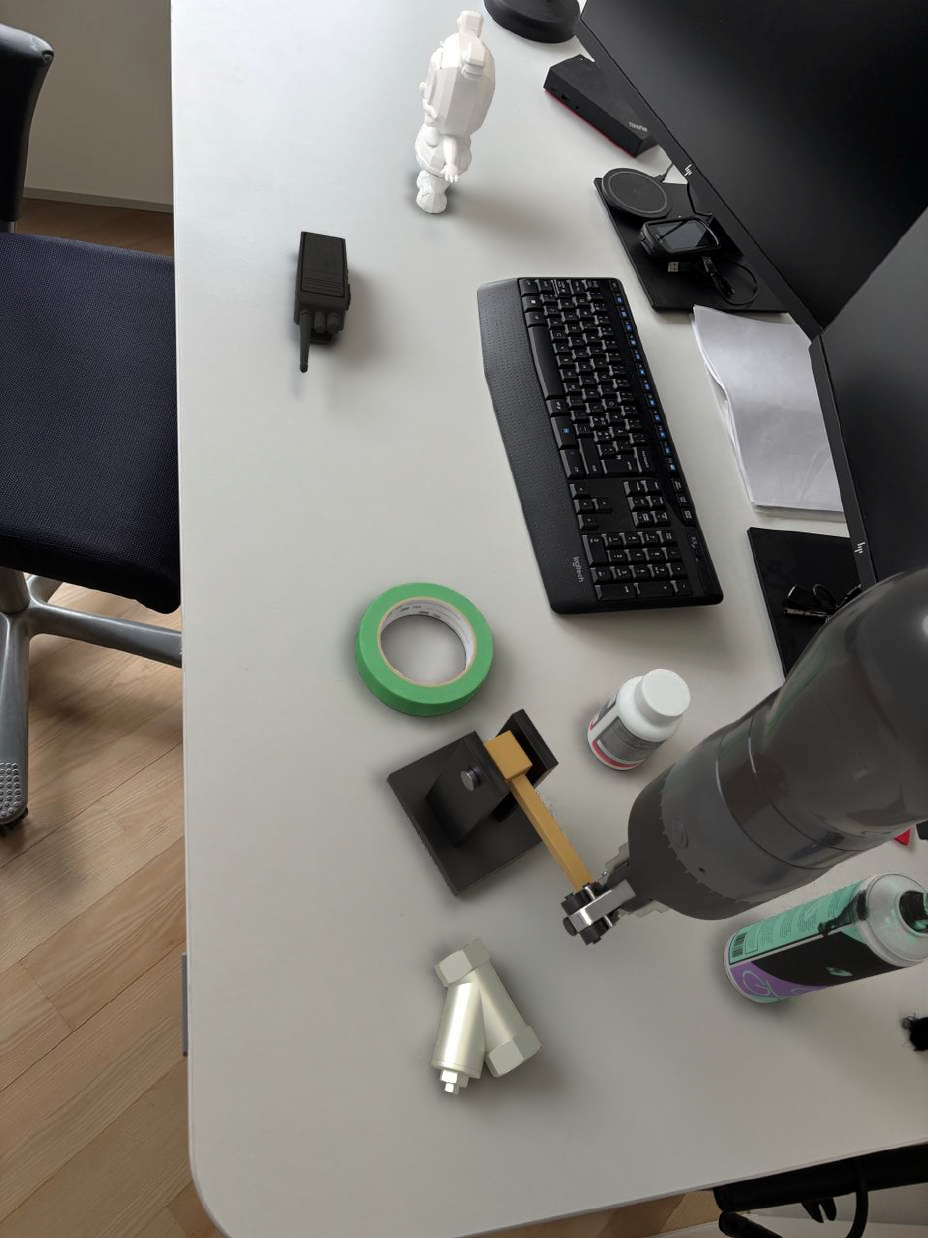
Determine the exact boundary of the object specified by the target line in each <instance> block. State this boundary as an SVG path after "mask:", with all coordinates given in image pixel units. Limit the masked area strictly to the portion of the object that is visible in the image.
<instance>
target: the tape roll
mask: <svg viewBox="0 0 928 1238" xmlns="http://www.w3.org/2000/svg"><path fill="white" fill-rule="evenodd" d="M410 615H422V616H423V615H424V616H430V617H433V618H435V619H438V620H439V621H442V622H443V623H445V624H446V625H448V626H449V627H450V628H451V629H452V630H453V631H454V632H455V633H456V634H457V635H458V637H459V638H460V640H461V642H462V644H463V648H464V650H465V655H466V656H465V658H466V661H465V668H464V670H462V672H460V674H458V675H457V676H456V677H454V678H451V679H450V680H447V681H445V682H439V683H428V682H427V683H426V682H420V681H416V680H414V679H410V678H409V677H407V676H405V675H404V674H403V673H401V672H400V671H399V670H398V669H396V668H394V667H393V665H392V664H391V663H390V662H389V661H388V659H387V657H386V655H385V653H384V651H383V648H382V642H381V635H382V632H383V631H384V629H386V628H387V626H389V625H390V623H391V624H392V622H393V621H395V620H398V619H399V618H402V617H406V616H410ZM354 647H355V648H354V657H355V663H356V667H357V670H358V672H359V675H360V677H361V679H362V681H363V682H364V683H365V685H366V687H367V688H368V690H369V691H370V692H371V693H372V694H373V695H374V696H375V697H376V698H378V699H379V701H380V702H382V703H384V704H385V705H387V706H388V707H390V708H392V709H394V710H396V711H398V712H402V713H404V714H408V715H412V716H417V717H418V716H419V717H434V716H440V715H444V714H445V715H446V714H448V713H450V712H454V711H456V710H457V709H458V710H459V708H461V707H463V706H464V705H465V704H467V703H468V702H469V701H470V700H471V699H472V698H473V697H474V695H476V693H477V692H478V690H479V689H480V688H481V686H482V684H483V683H484V681H485V679H486V678H487V676H488V674H489V672H490V669H491V667H492V663H493V659H494V658H493V657H494V641H493V636H492V632H491V629H490V626H489V624H488V621H487V620H486V618H485V617H484V615H483V614H482V612H481V610H479V609H478V607H476V605H475V604H474V603H472V602H471V601H470V599H468V598H466V597H465V596H464V595H462V594H461V593H459V592H458V591H456V590H454V589H451V588H450V587H447V586H444V585H440V584H437V583H432V582H431V583H430V582H410V583H405V584H400V585H397V586H394V587H391V588H389V589H388V590H385V591H384V592H382V593H381V594H380V595H379V596H377V597H376V598H375V599H374V600H373V601H372V602H371V603H370V604H369V606H368V607H367V609H366V610H365V612H364V614H363V617H362V619H361V622H360V625H359V627H358V632H357V635H356V639H355V646H354Z"/></svg>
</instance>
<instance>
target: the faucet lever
mask: <svg viewBox="0 0 928 1238" xmlns="http://www.w3.org/2000/svg"><path fill="white" fill-rule="evenodd" d="M495 737H496V736H495ZM495 737H493V738H492V739H490V740H488V741H487V742H483V748H484V749H485V751H486V752H487V754H488V756H489V757H490V759H491V760H492V762H493V764H494V765H495V767H496V768H497V770H498V771H499V773H500V775H501V776H502V778H503V779H504V781H505V783H506V784H507V786H508V787H509V789H510V791H511V792H512V794H513V795H514V797H515V798H516V800H517V801H518V803H519V804H520V806H521V808H522V809H523V811H524V812H525V814H526V815H527V817H528V818H529V820H530V821H531V823H532V824H533V826H534V828H535V829H536V831H537V832H538V834H539V835H540V837H541V838H542V840H543V843H544V845H545V846H546V848H547V849H548V851H549V852H550V854H551V855H552V857H553V858H554V860H555V861H556V863H557V865H558V866H559V867H560V870H561V871H562V872H563V874H564V876H565V877H566V879H567V880H568V881H569V883H570V885H571V886H572V888H573V890H574V891H575V892H576V893H577V892H579V891H580V890H582V889H583V888H582V886H583V885H585V884H587V883H588V882H590V884H591V883H593V882H595V881H596V880H595V879H594V877H593V875H592V874H591V873H590V871H589V870H588V868H587V867H586V865H585V864H584V862H583V860H582V859H581V858H580V856H579V854H578V853H577V852H576V850H575V848H574V847H573V845H572V844H571V843H570V841H569V839H568V838H567V836H566V835H565V834H564V832H563V830H562V829H561V827H560V826H559V824H558V822H557V821H556V820H555V818H554V817H553V815H552V814H551V812H550V810H549V809H548V808H547V806H546V805H545V803H544V802H543V799H541V797H540V796H539V794H538V793H537V791H536V789H535V790H534V788H533V787H532V785H531V784H530V782H529V781H528V779H527V777H526V776H525V774H526V773H527V772H528V770H529V769H530V768H531V766H532V763H531V761H530V760H529V758H528V757H527V755H526V754H525V752H524V751H523V749H522V748H521V746H520V745H519V743H518V742H517V740H516V739H515V737H514V736H513V734H512V733H511V731H507V732H505V733H503V734H501V735H500V736H498V737H496V738H495ZM568 916H570V915H567V916H565V917H564V918H563V919H562V926H563V927H564V929H565V932H567V934H568V935H570V936H571V937H576V936H577V935H579V932H577V930H576V928H575V927H574V925H573V924H572V922H571V920H570V919H569V917H568Z"/></svg>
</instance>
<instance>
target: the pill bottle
mask: <svg viewBox="0 0 928 1238" xmlns="http://www.w3.org/2000/svg"><path fill="white" fill-rule="evenodd" d="M691 699H692V697H691V691H690V688H689V686H688V685H687V683H686V682H685V680H684V679H683V678H682V677H681V676H680V675H679V674H678V673H676V672H674V671H672V670H670V669H667V668H666V669H665V668H655V669H652V670H650V671H649V672H647V673H646V674H645V675H639V676H635V677H632V678H630V679H629V680H627V681H626V682H624V683H623V684H622V685H621V686H620V688H619V689H618V690H617V691H616V692H615V693H613V695H612V696H611V698H609V699H608V701H607V702H606V703H605V704H604V705H603V706H602V707H601V708H600V710H599V711H598V712H597V713H596V714H595V716H593V717H592V719H591V720H590V722H589V725H588V728H587V741H588V742H587V743H588V745H589V747H590V749H591V751H592V753H593V755H594V756H595V757H596V758H597V759H598V760H599V761H600V762H601V763H602V764H604V766H605V765H606V766H607V767H609V768H612V769H615V770H619V771H620V770H622V771H624V770H625V771H626V770H631V769H634V768H636V767H637V766H639V765H640V764H642V763H643V762H644V761H645V760H646V759H648V757H649V756H651V754H653V753H654V752H656V750H657V749H659V748H660V747H661V746H662V745H664V744H665V742H667V741H668V740H669V739H671V738H672V737H673V736H674V735H675V734H676V732H677V731H678V730H679V729H680V726H681V724H682V722H683V717H684V713H686V712H687V711H688V709H689V707H690V705H691Z"/></svg>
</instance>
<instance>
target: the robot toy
mask: <svg viewBox="0 0 928 1238" xmlns="http://www.w3.org/2000/svg"><path fill="white" fill-rule="evenodd" d="M483 25H484V16H483V14H481V13H480V12H476V11H473V10H469V9H465V10H461V13H460V16H458V17H457V19H456V26H457V28H458V30H457V31H456V32H454V33H453V34H451V35H450V36H448V37H446V38H445V40H444V41H442V40H440V42H439V48H438V49H437V50H435V51H433V53H432V55H431V57H430V60H429V65H428V69H427V72H426V79H425V81H421V83H420V84H419V86H418V91H419V92H418V93H419V94H420V96H421V97H422V107H423V111H424V121H423V124H422V126H421V127H420V130H419V131H418V133H417V136H416V139H415V142H414V154H415V160H416V162H417V163H418V165H419V166H420V168H421V169H422V170H420V172H419V174H418V177H417V179H416V186H417V189H418V190H419V191H418V193H417V195H416V204H417V206H418V207H420V208H421V209H422V211H424V212H426V213H429V214H441V213H442V212H444V211H445V210H446V208H447V204H448V198H447V195H446V194H445V192H446V190H447V188H448V187H449V186H450V185H451V184H454V183H456V184H458V183H459V181H460V176H461V175H463V174H465V173H466V172H467V171H468V169H469V167H470V165H471V163H472V160H473V155H472V151H471V145H472V138H471V136H472V135H473V134H475V133H476V132H477V131H478V130H480V129H481V128H482V127H483V124H484V122H485V120H486V117H487V116H488V112H489V110H490V107H491V104H492V102H493V98H494V95H495V90H496V66H495V62H496V61H495V59H494V58H495V57H493V54H492V52H491V50H490V48H489V47H488V45H487V44H486V43H485V42H484V41H483V40H482V39H481V37H480V36H482V31H483Z"/></svg>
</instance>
